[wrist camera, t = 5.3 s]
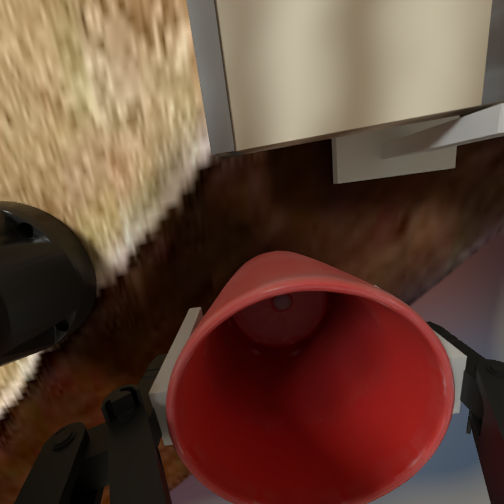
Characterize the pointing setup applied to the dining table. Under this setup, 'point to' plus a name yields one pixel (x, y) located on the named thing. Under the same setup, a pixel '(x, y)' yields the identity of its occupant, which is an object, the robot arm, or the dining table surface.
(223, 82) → the beam
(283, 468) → the flower pot
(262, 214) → the dining table surface
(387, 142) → the stand
